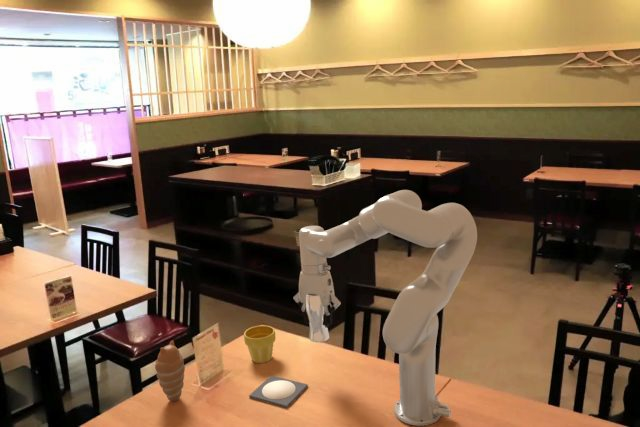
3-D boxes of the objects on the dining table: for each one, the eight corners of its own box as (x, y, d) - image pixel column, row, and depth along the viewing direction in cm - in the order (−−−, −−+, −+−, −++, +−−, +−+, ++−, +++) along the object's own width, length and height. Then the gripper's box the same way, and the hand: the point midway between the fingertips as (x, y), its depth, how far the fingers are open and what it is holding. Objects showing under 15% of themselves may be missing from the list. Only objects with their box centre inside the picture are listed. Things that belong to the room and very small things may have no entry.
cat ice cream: (174, 389, 162) (167, 335, 158) (194, 394, 158) (188, 339, 154) (153, 405, 154) (146, 348, 150) (174, 411, 151) (167, 353, 147)
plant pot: (246, 352, 183) (244, 326, 180) (276, 349, 184) (274, 323, 181) (245, 367, 173) (243, 340, 170) (277, 364, 174) (275, 337, 171)
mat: (307, 386, 160) (307, 384, 159) (286, 408, 149) (286, 405, 149) (271, 377, 166) (271, 375, 165) (249, 397, 155) (249, 394, 155)
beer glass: (321, 345, 156) (318, 297, 153) (303, 339, 160) (299, 293, 157) (335, 336, 161) (332, 289, 158) (317, 331, 165) (314, 286, 162)
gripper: (346, 266, 155) (349, 323, 159) (295, 261, 163) (299, 315, 167) (334, 274, 148) (338, 333, 152) (282, 269, 157) (287, 325, 161)
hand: (318, 323), depth 160 cm, fingers closed on beer glass, 6 cm apart
